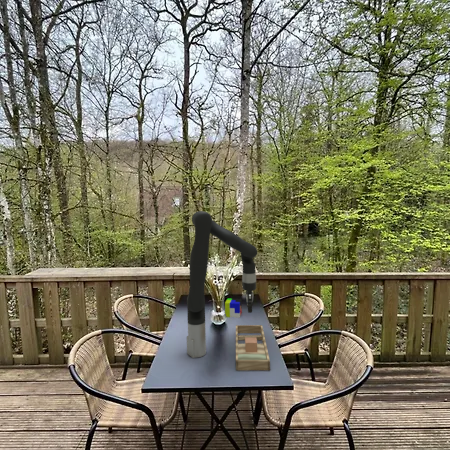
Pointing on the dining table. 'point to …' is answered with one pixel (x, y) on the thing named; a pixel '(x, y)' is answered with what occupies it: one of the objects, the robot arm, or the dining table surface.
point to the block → (251, 344)
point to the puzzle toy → (233, 308)
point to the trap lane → (251, 359)
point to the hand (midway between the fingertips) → (249, 309)
